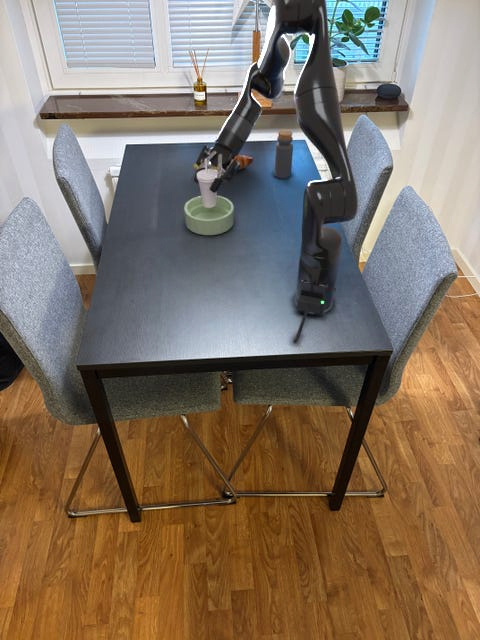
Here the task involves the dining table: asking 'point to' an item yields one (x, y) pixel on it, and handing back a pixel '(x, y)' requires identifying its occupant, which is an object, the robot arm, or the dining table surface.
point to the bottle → (283, 154)
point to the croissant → (242, 160)
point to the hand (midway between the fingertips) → (204, 186)
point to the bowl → (209, 216)
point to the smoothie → (207, 186)
